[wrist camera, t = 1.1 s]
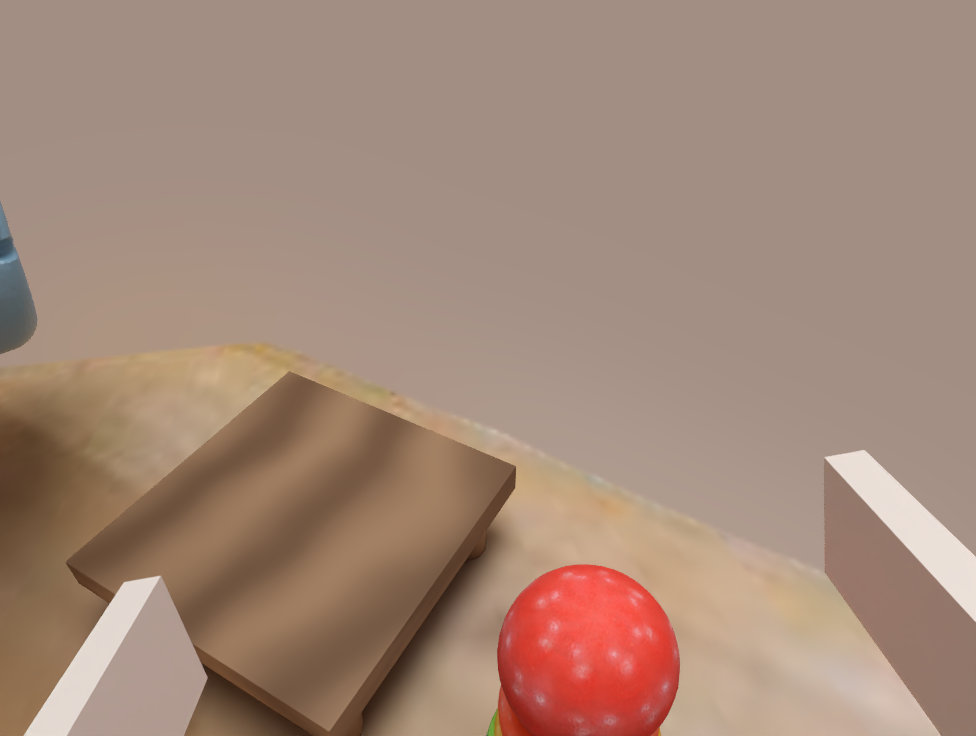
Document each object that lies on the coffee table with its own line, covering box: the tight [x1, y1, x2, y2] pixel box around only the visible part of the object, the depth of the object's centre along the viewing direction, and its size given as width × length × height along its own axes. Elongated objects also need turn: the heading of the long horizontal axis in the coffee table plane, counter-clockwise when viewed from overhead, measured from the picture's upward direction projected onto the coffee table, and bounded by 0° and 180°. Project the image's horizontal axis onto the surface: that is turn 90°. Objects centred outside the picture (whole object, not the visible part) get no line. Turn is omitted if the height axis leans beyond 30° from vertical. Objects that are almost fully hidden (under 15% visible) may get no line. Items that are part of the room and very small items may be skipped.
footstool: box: [66, 371, 516, 736], centre depth 39 cm, size 16×16×6 cm
